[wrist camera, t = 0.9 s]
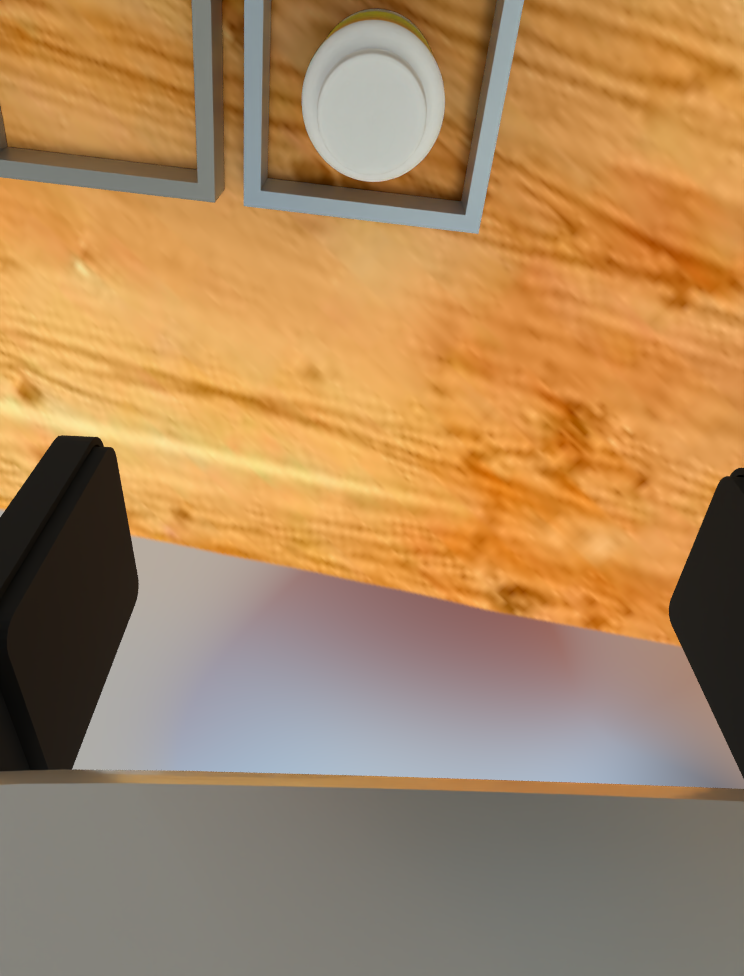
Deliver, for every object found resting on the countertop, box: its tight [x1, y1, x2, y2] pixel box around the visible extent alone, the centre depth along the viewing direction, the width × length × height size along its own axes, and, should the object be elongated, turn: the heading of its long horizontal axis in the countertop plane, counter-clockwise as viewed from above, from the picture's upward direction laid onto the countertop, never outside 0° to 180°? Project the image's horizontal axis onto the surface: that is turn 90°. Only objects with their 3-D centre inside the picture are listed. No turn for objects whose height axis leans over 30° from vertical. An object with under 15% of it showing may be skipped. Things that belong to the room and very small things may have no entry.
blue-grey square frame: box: [244, 0, 524, 234], centre depth 33 cm, size 12×12×2 cm
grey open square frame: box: [0, 0, 224, 202], centre depth 32 cm, size 12×12×2 cm
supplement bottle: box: [302, 9, 445, 182], centre depth 29 cm, size 6×6×10 cm
